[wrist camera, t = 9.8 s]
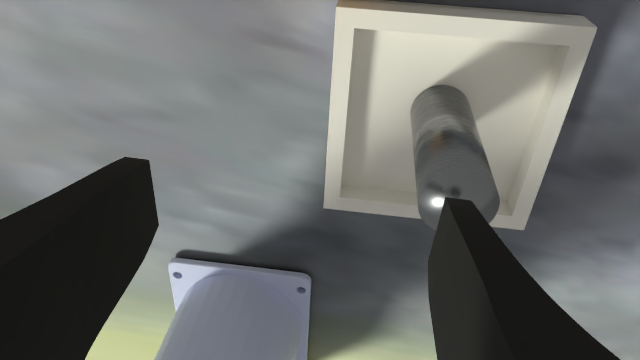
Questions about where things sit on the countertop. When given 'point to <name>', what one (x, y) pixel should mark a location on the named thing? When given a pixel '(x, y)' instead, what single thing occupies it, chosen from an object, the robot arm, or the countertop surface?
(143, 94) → the countertop surface
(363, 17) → the tray
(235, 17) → the countertop surface
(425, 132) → the cylinder
